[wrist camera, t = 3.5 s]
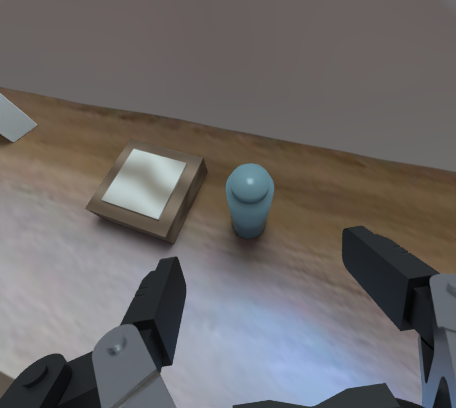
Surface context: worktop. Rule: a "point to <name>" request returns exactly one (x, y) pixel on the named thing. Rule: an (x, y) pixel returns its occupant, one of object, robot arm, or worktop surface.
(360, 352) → the worktop surface
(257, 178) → the blue capped bottle
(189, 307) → the worktop surface
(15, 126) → the milk
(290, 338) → the worktop surface
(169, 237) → the plinth
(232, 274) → the worktop surface
